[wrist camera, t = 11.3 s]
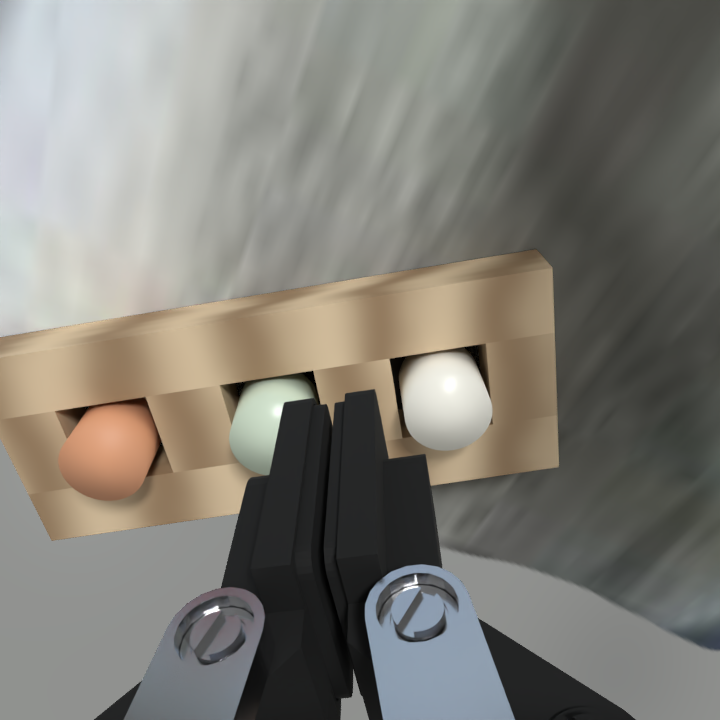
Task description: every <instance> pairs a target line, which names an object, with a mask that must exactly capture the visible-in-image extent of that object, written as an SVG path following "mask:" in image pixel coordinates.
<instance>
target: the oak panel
mask: <svg viewBox="0 0 720 720" xmlns="http://www.w3.org/2000/svg"><path fill="white" fill-rule="evenodd" d="M473 345H478V352H479V363H480V374H481V377H482V379H483V382H484V384H485V387H486V389H487V392H488V394H489V397H490V400H491V403H492V418H491V421H490V424H489V426H488V428H487V429H486V431H485V432H484V434H483V435H482V436H481V437H480V438H479V439H477V440H476V441H475V442H473V443H472V444H470V445H468V446H466V447H463V448H460V449H456V450H450V451H441V450H434V449H431V448H428V447H425V446H424V445H422V444H420V443H419V442H417V441H416V440H415V439H414V438H413V437H412V436H411V434H410V433H409V431H408V429H407V426H406V423H405V417H404V411H403V409H402V410H398V404H397V398H396V392H395V386H394V380H393V374H392V367H391V361H390V358H396V357H403V356H409V355H416V354H422V353H428V352H435V351H441V350H447V349H454V348H460V347H466V346H473ZM307 371H313V372H314V376H315V381H316V385H317V390H318V394H319V398H320V403H321V405H322V404H327V406H328V409H329V413H330V417H331V421H332V425H333V417H334V405H335V403H336V402H343V401H344V400H345V394H346V393H350V392H357V391H364V390H371V389H375V391H376V395H377V400H378V405H379V410H380V415H381V420H382V425H383V431H384V436H385V441H386V446H387V451H388V456H389V459H391V458H399V457H406V456H413V455H421V454H426V459H427V465H428V472H429V478H430V484H431V486H432V485H439V484H446V483H452V482H459V481H466V480H473V479H480V478H487V477H494V476H501V475H508V474H514V473H521V472H528V471H535V470H542V469H549V468H556V467H559V451H558V420H557V389H556V358H555V327H554V296H553V268H552V267H551V265H550V264H549V263H548V262H547V261H546V260H545V259H544V257H543V256H542V255H541V254H540V253H539V252H538V251H537V249H534V250H528V251H522V252H516V253H510V254H504V255H498V256H492V257H486V258H480V259H474V260H468V261H462V262H455V263H449V264H443V265H437V266H431V267H425V268H419V269H413V270H407V271H401V272H395V273H389V274H383V275H376V276H370V277H364V278H358V279H352V280H346V281H340V282H334V283H328V284H322V285H316V286H310V287H304V288H297V289H291V290H285V291H279V292H273V293H267V294H261V295H255V296H249V297H243V298H237V299H231V300H225V301H218V302H212V303H206V304H200V305H194V306H188V307H182V308H176V309H170V310H164V311H158V312H152V313H145V314H139V315H133V316H127V317H121V318H115V319H109V320H103V321H97V322H91V323H85V324H79V325H73V326H66V327H60V328H54V329H48V330H42V331H36V332H30V333H24V334H18V335H12V336H6V337H0V439H1V441H2V443H3V445H4V447H5V449H6V450H7V453H8V455H9V456H10V458H11V460H12V462H13V465H14V466H15V468H16V470H17V472H18V474H19V476H20V478H21V480H22V482H23V484H24V486H25V488H26V490H27V492H28V494H29V496H30V498H31V500H32V502H33V504H34V506H35V508H36V510H37V512H38V514H39V516H40V518H41V520H42V522H43V524H44V526H45V528H46V530H47V532H48V534H49V536H50V538H51V540H52V541H53V540H60V539H67V538H74V537H81V536H88V535H94V534H102V533H108V532H115V531H122V530H129V529H136V528H143V527H150V526H156V525H163V524H170V523H177V522H184V521H191V520H197V519H205V518H211V517H218V516H225V515H232V514H239V512H240V508H241V504H242V500H243V496H244V492H245V488H246V484H247V482H248V480H249V479H250V478H251V477H258V476H266V475H262V474H258V473H255V472H253V471H251V470H249V469H248V468H246V467H245V466H243V465H242V464H241V463H240V462H239V461H238V460H237V459H236V457H235V456H234V454H233V452H232V450H231V447H230V443H229V434H230V430H231V426H232V422H233V419H234V416H235V412H236V409H237V405H238V402H239V398H240V397H239V393H238V390H237V387H236V383H237V382H244V381H250V380H256V379H263V378H269V377H275V376H282V375H288V374H295V373H301V372H307ZM142 397H146V399H147V402H148V405H149V408H150V410H151V413H152V416H153V419H154V421H155V424H156V427H157V429H158V432H159V435H160V438H161V440H162V443H163V446H159V448H158V450H157V452H156V455H155V457H154V459H153V461H152V464H151V466H150V468H149V470H148V473H147V475H146V477H145V479H144V482H143V484H142V485H141V487H140V488H139V489H138V490H137V491H136V492H135V493H134V494H132V495H131V496H129V497H126V498H124V499H120V500H114V501H104V500H97V499H93V498H90V497H87V496H85V495H83V494H81V493H79V492H78V491H76V490H75V489H74V488H72V487H71V486H70V485H69V484H68V483H67V482H66V480H65V479H64V477H63V476H62V474H61V471H60V469H59V464H58V457H59V453H60V450H61V448H62V446H63V445H64V443H65V442H66V440H67V439H68V437H69V436H70V434H71V433H72V431H73V430H74V429H75V427H76V426H77V424H78V423H79V421H80V420H81V418H82V417H83V415H84V414H85V412H86V411H87V410H86V408H85V406H91V405H97V404H103V403H110V402H116V401H123V400H129V399H135V398H142Z"/></svg>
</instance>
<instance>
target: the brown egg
mask: <svg viewBox="0 0 720 720" xmlns="http://www.w3.org/2000/svg"><path fill="white" fill-rule="evenodd" d="M161 441H162V440H161V438H160V435H159V432H158V429H157V427H156V424H155V421H154V419H153V416H152V413H151V410H150V408H149V405H148V402H147V400H146V399H145V398H143V397H142V398H135V399H129V400H123V401H116V402H110V403H103V404H97V405H91V406H89V408H88V409H87V411H86V412H85V414H84V415H83V417H82V418H81V420H80V421H79V423H78V424H77V426H76V427H75V429H74V430H73V431H72V433H71V434H70V436H69V437H68V439H67V440H66V442H65V443H64V445H63V446H62V448H61V450H60V453H59V457H58V464H59V469H60V471H61V474H62V476H63V477H64V479H65V480H66V482H67V483H68V484H69V485H70V486H71V487H72V488H74V489H75V490H76V491H78V492H79V493H81V494H83V495H85V496H87V497H90V498H93V499H97V500H104V501H114V500H120V499H124V498H126V497H129V496H131V495H132V494H134V493H135V492H136V491H137V490H138V489H139V488H140V487H141V485H142V484H143V482H144V479H145V477H146V475H147V473H148V470H149V468H150V466H151V464H152V461H153V459H154V457H155V455H156V452H157V450H158V448H159V446H160V443H161Z"/></svg>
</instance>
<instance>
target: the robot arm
mask: <svg viewBox="0 0 720 720" xmlns="http://www.w3.org/2000/svg"><path fill="white" fill-rule="evenodd" d="M353 669H354V673H355V676H356V680H357V683H358V687H359V690H360V694H361V695H362V696H363V699H364V703H365V706H366V710H367V713H368V717H369V720H635V719H634V718H633V717H632V716H631V715H629V714H628V713H627V712H626V711H624V710H623V709H622V708H620V707H618V706H617V705H615V704H613V703H612V702H610V701H609V700H607V699H606V698H604V697H602V696H601V695H599V694H598V693H596V692H595V691H593V690H591V689H590V688H588V687H587V686H585V685H583V684H582V683H580V682H579V681H577V680H575V679H574V678H572V677H571V676H569V675H568V674H566V673H564V672H563V671H561V670H560V669H558V668H556V667H555V666H553V665H552V664H550V663H549V662H547V661H545V660H544V659H542V658H541V657H539V656H537V655H536V654H534V653H533V652H531V651H529V650H528V649H526V648H525V647H523V646H522V645H520V644H518V643H516V642H515V641H514V640H512V639H510V638H509V637H507V636H506V635H504V634H502V633H501V632H499V631H498V630H496V629H495V628H493V627H491V626H490V625H488V624H487V623H485V622H483V621H482V620H480V619H479V618H477V615H476V612H475V609H474V607H473V604H472V602H471V598H470V596H469V593H468V591H467V590H466V588H465V586H464V585H463V583H462V582H461V580H459V579H458V578H457V577H456V576H455V575H453V574H452V573H451V572H449V571H447V570H444V569H442V562H441V554H440V546H439V539H438V532H437V524H436V517H435V511H434V504H433V497H432V491H431V484H430V478H429V472H428V465H427V459H426V454H421V455H413V456H406V457H399V458H391V459H389V456H388V451H387V446H386V441H385V436H384V431H383V425H382V420H381V415H380V410H379V405H378V400H377V395H376V391H375V389H371V390H364V391H357V392H350V393H346V394H345V400H344V401H343V402H336V403H335V405H334V417H333V425H332V421H331V417H330V413H329V409H328V406H327V404H322V405H317V402H316V400H315V399H314V398H309V399H302V400H295V401H289V402H285V403H284V405H283V409H282V414H281V419H280V424H279V429H278V434H277V439H276V444H275V449H274V454H273V458H272V463H271V468H270V473H269V475H266V476H258V477H251V478H250V479H249V480H248V482H247V484H246V488H245V492H244V496H243V500H242V504H241V508H240V512H239V516H238V521H237V525H236V529H235V533H234V537H233V541H232V545H231V549H230V553H229V557H228V561H227V565H226V570H225V574H224V578H223V582H222V586H221V588H220V589H215V590H212V591H210V592H207V593H204V594H201V595H200V596H198V597H196V598H195V599H193V600H192V601H190V602H189V603H187V604H186V605H185V606H184V607H183V608H182V609H181V610H180V611H179V612H178V613H177V614H176V615H175V617H174V618H173V620H172V621H171V623H170V624H169V626H168V627H167V629H166V631H165V633H164V636H163V638H162V640H161V642H160V644H159V647H158V648H157V650H156V652H155V655H154V657H153V659H152V661H151V663H150V665H149V667H148V669H147V671H146V674H145V676H144V678H143V680H142V681H141V682H140V683H139V684H137V685H136V686H135V687H134V688H132V689H131V690H130V691H129V692H127V693H126V694H125V695H124V696H122V697H121V698H120V699H119V700H118V701H116V702H115V703H114V704H113V705H111V706H110V707H109V708H108V709H107V710H105V711H104V712H103V713H102V714H101V715H99V716H98V717H97V718H96V719H94V720H340V715H341V698H349V697H351V696H352V693H353Z"/></svg>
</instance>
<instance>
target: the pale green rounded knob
mask: <svg viewBox="0 0 720 720" xmlns="http://www.w3.org/2000/svg"><path fill="white" fill-rule="evenodd" d="M309 398H314V399H315V400H316V402H317V405H319V398H318V393H317V390H316V388H315V386H314V385H313V383H312V382H311V381H310V379H309V378H307V377H306V376H305V375H304V374H302V373H295V374H288V375H282V376H275V377H269V378H263V379H256V380H250V381H246V382H245V384H244V386H243V388H242V391H241V395H240V398H239V402H238V405H237V409H236V412H235V416H234V419H233V422H232V426H231V430H230V434H229V443H230V447H231V450H232V452H233V454H234V456H235V457H236V459H237V460H238V461H239V462H240V463H241V464H242V465H243V466H245V467H246V468H248V469H249V470H251V471H253V472H255V473H258V474H262V475H269V473H270V468H271V463H272V458H273V454H274V449H275V444H276V439H277V434H278V429H279V424H280V419H281V414H282V409H283V405H284V403H285V402H289V401H295V400H302V399H309Z"/></svg>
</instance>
